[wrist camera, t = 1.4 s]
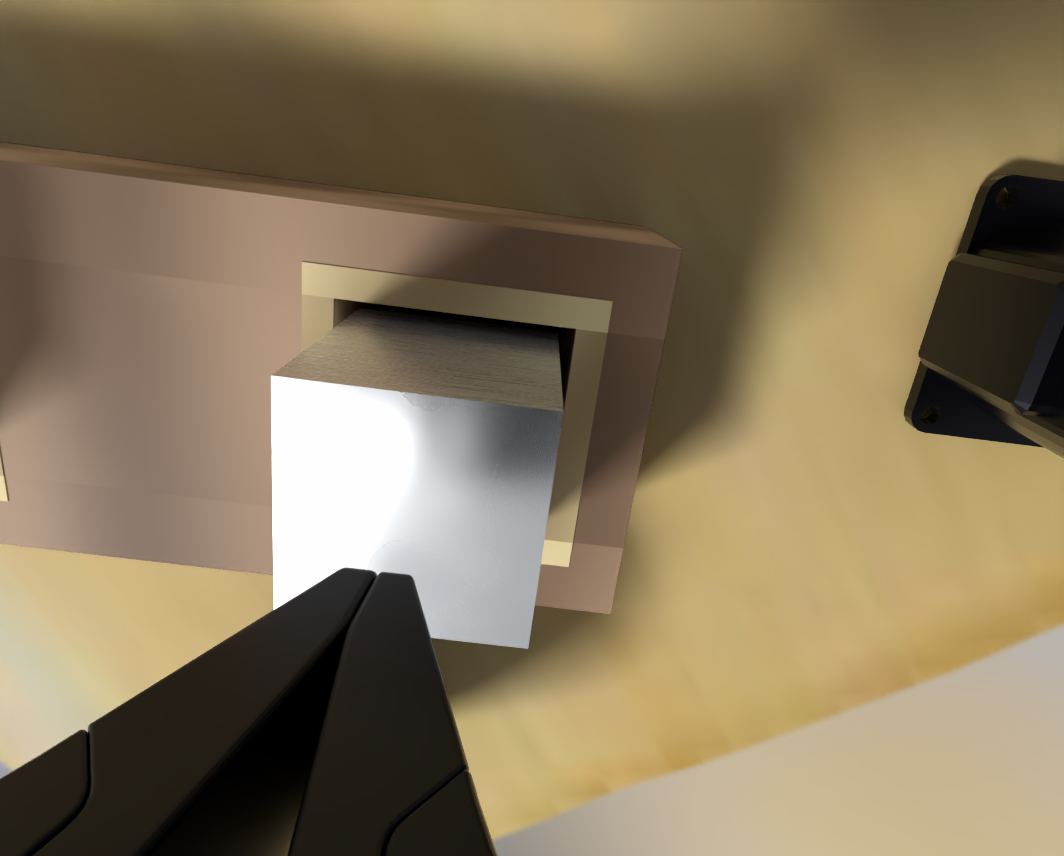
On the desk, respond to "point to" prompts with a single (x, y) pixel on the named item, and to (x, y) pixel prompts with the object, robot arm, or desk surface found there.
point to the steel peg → (420, 465)
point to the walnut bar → (282, 347)
